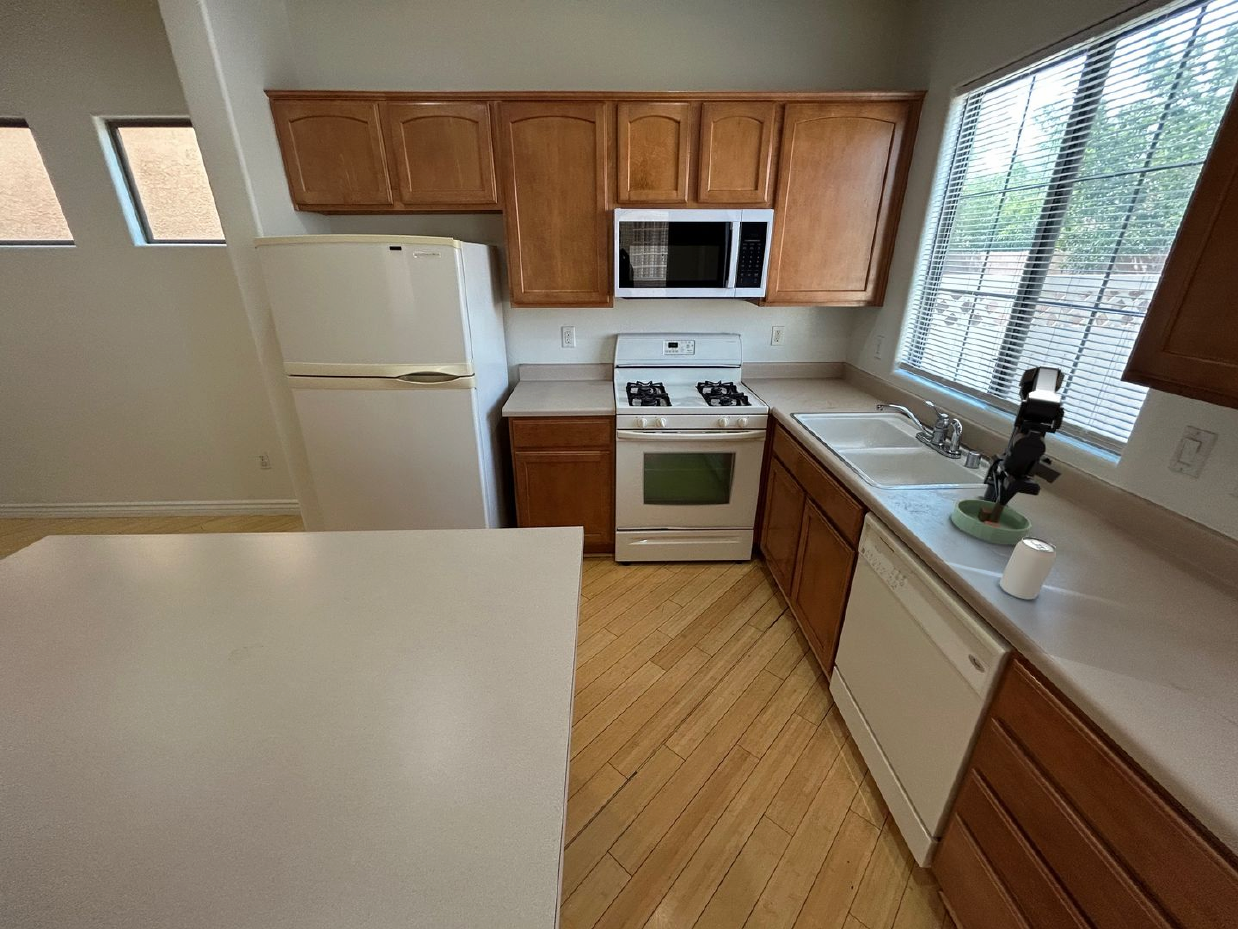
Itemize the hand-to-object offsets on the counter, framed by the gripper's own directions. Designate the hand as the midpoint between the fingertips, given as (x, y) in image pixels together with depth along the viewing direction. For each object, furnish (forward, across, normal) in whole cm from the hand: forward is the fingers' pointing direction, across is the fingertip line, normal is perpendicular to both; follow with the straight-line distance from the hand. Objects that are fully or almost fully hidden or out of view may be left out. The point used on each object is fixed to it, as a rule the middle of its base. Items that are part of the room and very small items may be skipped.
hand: (1000, 503), depth 123 cm
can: (+8, -29, +1) cm, 30 cm away
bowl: (+7, -1, +1) cm, 8 cm away
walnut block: (+7, +2, +1) cm, 7 cm away
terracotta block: (+7, -6, +2) cm, 9 cm away
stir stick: (+6, 0, 0) cm, 6 cm away
